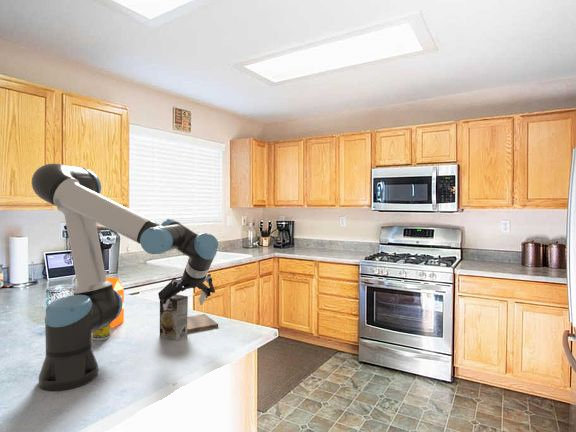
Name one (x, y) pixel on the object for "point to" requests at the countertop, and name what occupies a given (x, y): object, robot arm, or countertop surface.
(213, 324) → the walnut board
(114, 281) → the orange juice
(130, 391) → the countertop surface
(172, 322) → the coffee box
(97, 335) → the pill bottle
